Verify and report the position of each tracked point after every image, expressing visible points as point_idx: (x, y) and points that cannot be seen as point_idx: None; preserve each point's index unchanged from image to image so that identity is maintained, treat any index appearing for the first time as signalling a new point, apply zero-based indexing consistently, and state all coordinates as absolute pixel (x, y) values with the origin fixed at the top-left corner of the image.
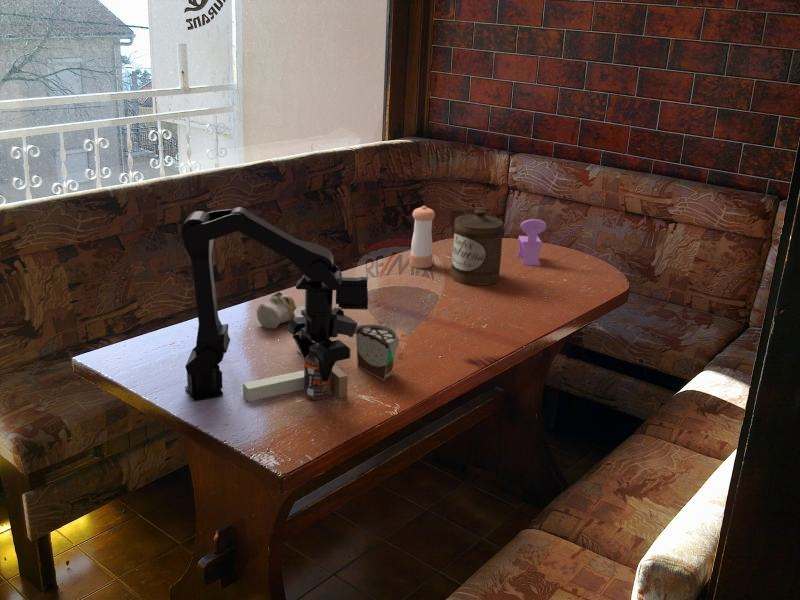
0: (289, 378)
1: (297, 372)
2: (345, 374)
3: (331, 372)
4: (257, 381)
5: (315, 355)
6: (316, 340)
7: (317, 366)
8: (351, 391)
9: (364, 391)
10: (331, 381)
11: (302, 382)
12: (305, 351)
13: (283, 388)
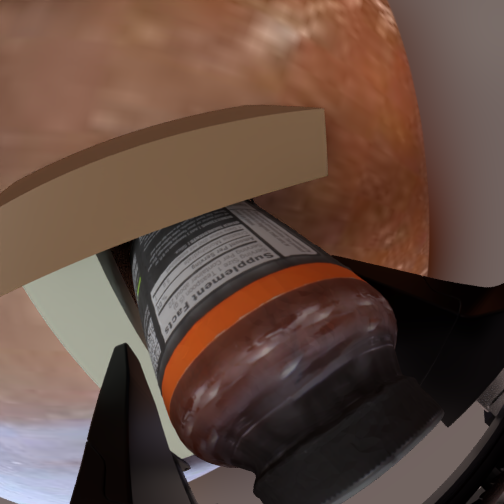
0: (155, 389)
1: (90, 368)
2: (303, 115)
3: (299, 235)
4: (174, 444)
5: (454, 420)
6: (475, 495)
7: (402, 369)
8: (200, 67)
9: (221, 10)
10: (248, 203)
11: (140, 327)
12: (174, 486)
13: None
